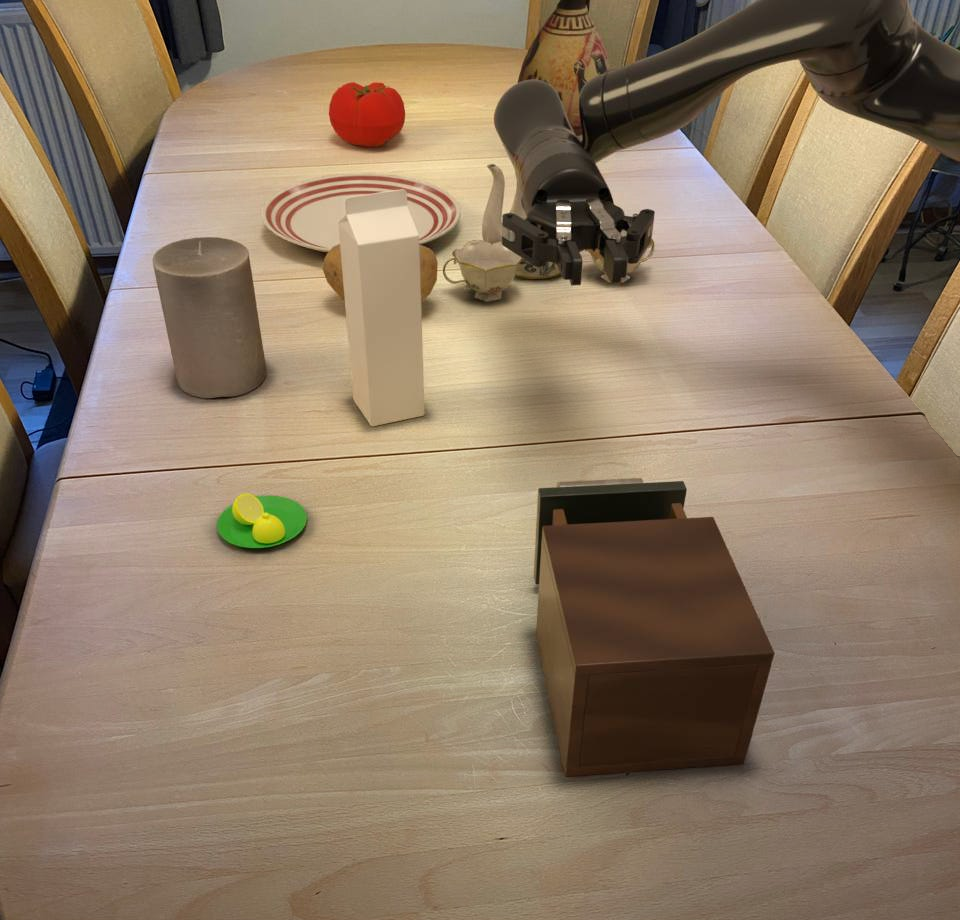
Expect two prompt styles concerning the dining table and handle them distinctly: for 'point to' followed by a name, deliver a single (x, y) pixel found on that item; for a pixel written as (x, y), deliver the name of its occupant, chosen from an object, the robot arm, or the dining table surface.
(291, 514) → the lemon halves on plate
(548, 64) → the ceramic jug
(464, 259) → the chinaware
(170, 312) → the pillar candle
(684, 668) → the cabinet
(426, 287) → the potato
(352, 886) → the dining table surface
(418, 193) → the dinner plate
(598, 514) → the drawer
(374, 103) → the tomato
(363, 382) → the milk
